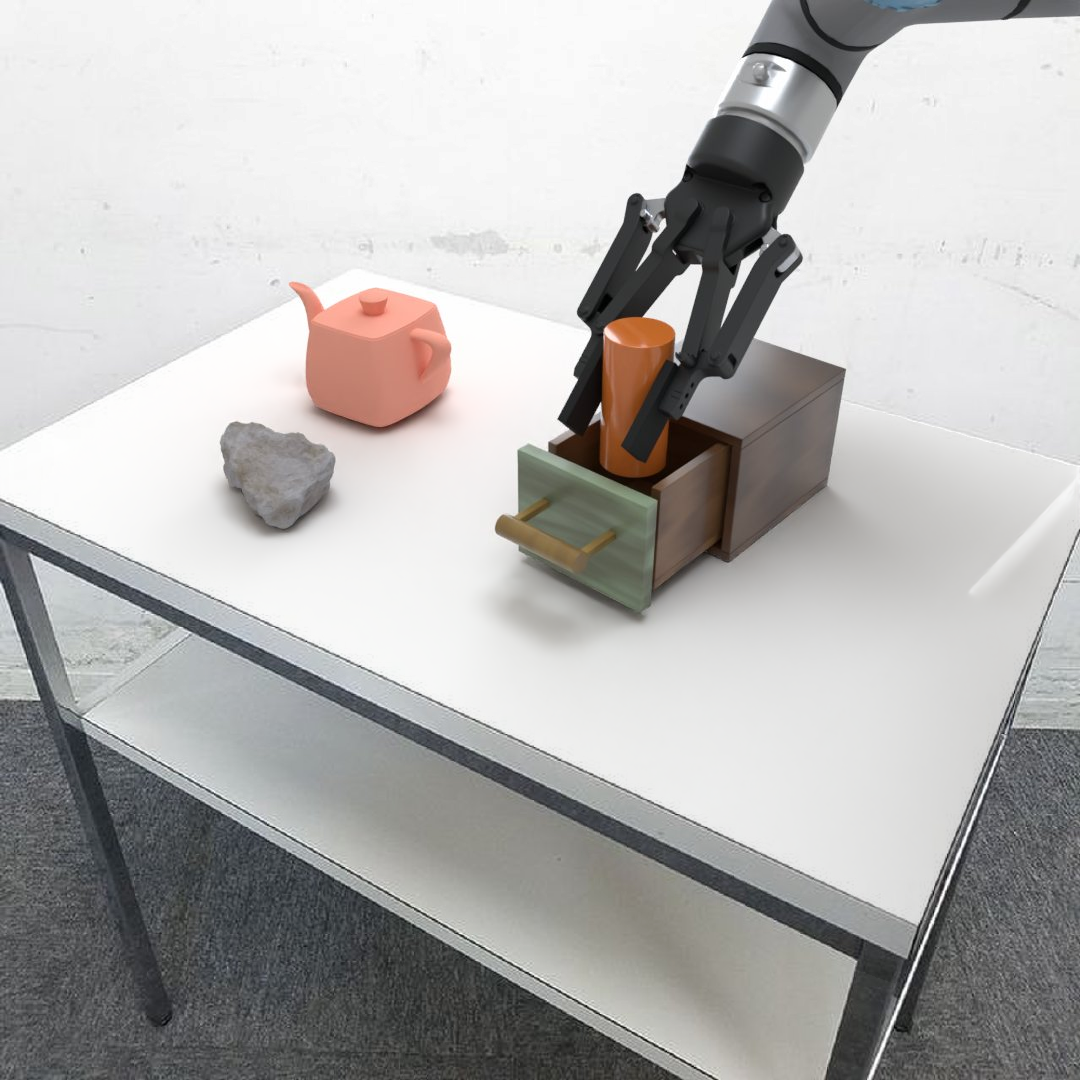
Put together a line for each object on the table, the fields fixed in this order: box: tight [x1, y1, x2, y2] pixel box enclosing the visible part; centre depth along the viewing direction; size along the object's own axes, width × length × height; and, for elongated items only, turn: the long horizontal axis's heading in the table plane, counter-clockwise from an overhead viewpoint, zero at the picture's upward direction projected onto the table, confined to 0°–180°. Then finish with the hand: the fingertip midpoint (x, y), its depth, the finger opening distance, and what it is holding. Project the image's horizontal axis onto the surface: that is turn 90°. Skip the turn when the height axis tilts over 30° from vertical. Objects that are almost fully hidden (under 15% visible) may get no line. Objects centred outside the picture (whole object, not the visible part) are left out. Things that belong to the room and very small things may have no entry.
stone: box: [219, 420, 337, 530], centre depth 94 cm, size 10×8×6 cm
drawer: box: [494, 411, 732, 614], centre depth 86 cm, size 18×11×9 cm, turn 139°
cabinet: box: [669, 328, 847, 563], centre depth 94 cm, size 15×13×11 cm
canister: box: [599, 316, 676, 478], centre depth 82 cm, size 5×5×10 cm
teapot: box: [288, 281, 452, 428], centre depth 107 cm, size 12×18×10 cm, turn 57°
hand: (601, 440), depth 81 cm, fingers closed on canister, 5 cm apart
